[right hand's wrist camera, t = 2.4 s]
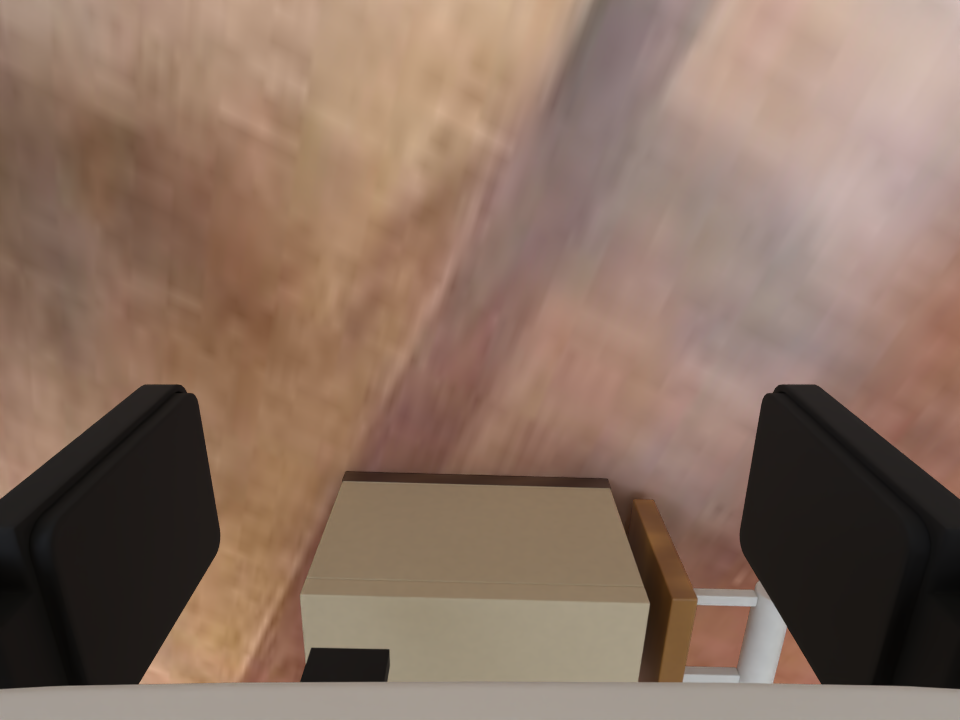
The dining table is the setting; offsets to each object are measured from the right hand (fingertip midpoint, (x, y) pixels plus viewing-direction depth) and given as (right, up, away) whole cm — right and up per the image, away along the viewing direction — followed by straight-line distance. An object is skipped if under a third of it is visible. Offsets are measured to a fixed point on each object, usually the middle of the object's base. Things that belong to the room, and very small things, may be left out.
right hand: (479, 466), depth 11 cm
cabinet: (0, -10, +28) cm, 30 cm away
